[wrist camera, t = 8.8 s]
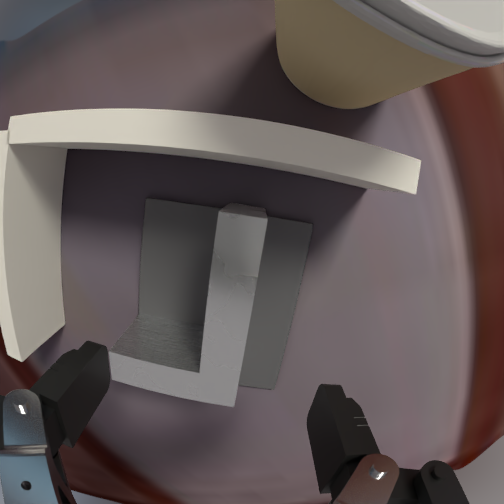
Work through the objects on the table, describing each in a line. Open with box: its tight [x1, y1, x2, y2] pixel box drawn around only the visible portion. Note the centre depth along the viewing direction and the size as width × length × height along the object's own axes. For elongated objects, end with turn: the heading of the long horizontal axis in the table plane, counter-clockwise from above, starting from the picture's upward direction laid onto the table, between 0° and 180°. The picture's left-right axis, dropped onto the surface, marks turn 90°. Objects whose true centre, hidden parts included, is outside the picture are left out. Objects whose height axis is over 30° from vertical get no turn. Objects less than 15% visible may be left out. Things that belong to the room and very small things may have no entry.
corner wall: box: [0, 109, 421, 362], centre depth 15 cm, size 21×15×6 cm
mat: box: [139, 198, 313, 390], centre depth 18 cm, size 10×12×1 cm
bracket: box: [109, 203, 268, 407], centre depth 16 cm, size 10×7×5 cm
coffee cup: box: [275, 0, 504, 109], centre depth 9 cm, size 9×9×12 cm
